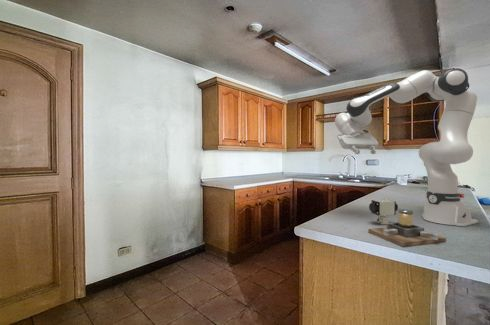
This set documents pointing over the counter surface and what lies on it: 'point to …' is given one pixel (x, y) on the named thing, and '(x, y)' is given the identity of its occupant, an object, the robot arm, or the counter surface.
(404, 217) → the amber cylinder
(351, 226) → the counter surface
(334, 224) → the counter surface
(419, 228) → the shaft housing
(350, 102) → the robot arm
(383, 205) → the pneumatic valve
